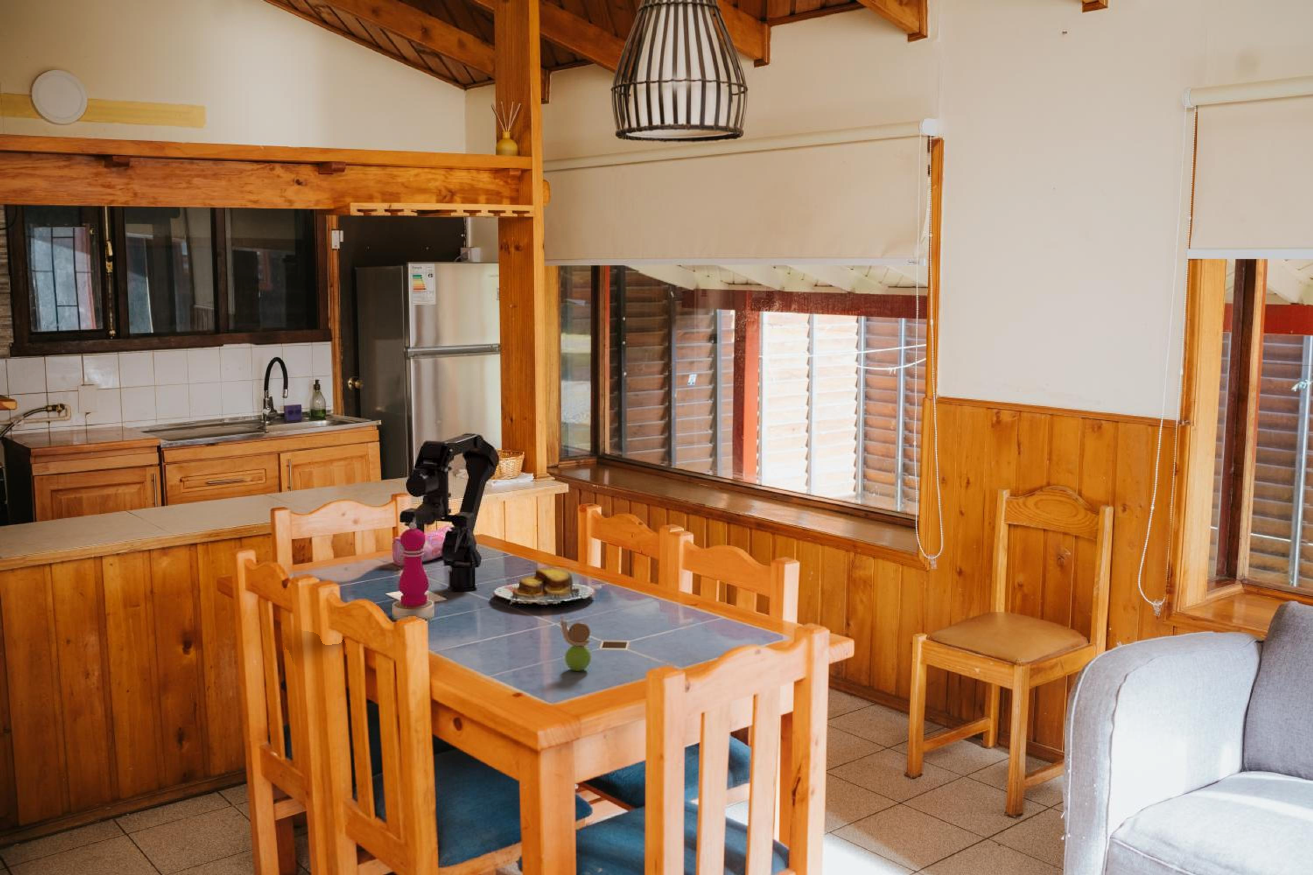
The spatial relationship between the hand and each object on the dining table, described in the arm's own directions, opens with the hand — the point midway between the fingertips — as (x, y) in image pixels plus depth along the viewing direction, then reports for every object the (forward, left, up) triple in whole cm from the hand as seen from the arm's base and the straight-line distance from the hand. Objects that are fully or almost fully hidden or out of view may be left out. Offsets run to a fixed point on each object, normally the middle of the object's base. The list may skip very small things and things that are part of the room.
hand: (437, 550), depth 298 cm
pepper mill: (+8, +12, -10) cm, 17 cm away
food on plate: (-26, +6, -14) cm, 30 cm away
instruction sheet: (+5, -5, -13) cm, 15 cm away
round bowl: (+8, +12, -13) cm, 19 cm away
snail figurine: (-19, +62, -13) cm, 66 cm away
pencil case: (-4, -45, -13) cm, 47 cm away
